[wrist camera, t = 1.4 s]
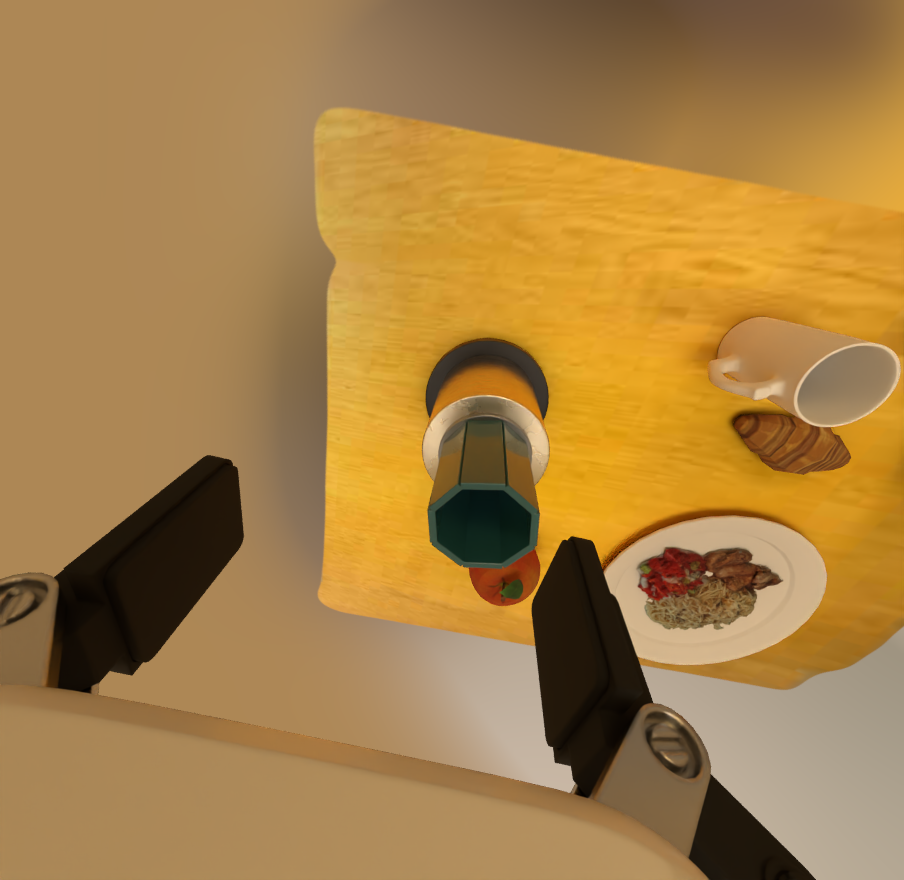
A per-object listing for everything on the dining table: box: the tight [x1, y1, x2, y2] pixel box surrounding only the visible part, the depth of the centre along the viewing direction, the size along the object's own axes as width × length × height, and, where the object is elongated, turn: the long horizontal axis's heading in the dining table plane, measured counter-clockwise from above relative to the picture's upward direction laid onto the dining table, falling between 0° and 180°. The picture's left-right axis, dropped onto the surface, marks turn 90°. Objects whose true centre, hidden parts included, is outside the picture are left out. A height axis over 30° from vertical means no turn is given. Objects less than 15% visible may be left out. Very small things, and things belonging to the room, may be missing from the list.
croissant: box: [733, 414, 851, 475], centre depth 41 cm, size 14×7×5 cm, turn 72°
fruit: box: [469, 549, 540, 606], centre depth 50 cm, size 10×10×10 cm
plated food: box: [604, 515, 827, 665], centre depth 54 cm, size 30×30×3 cm
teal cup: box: [428, 420, 540, 569], centre depth 28 cm, size 7×7×9 cm
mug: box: [708, 317, 901, 427], centre depth 34 cm, size 10×7×12 cm, turn 103°
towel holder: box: [422, 338, 550, 485], centre depth 38 cm, size 14×14×14 cm
